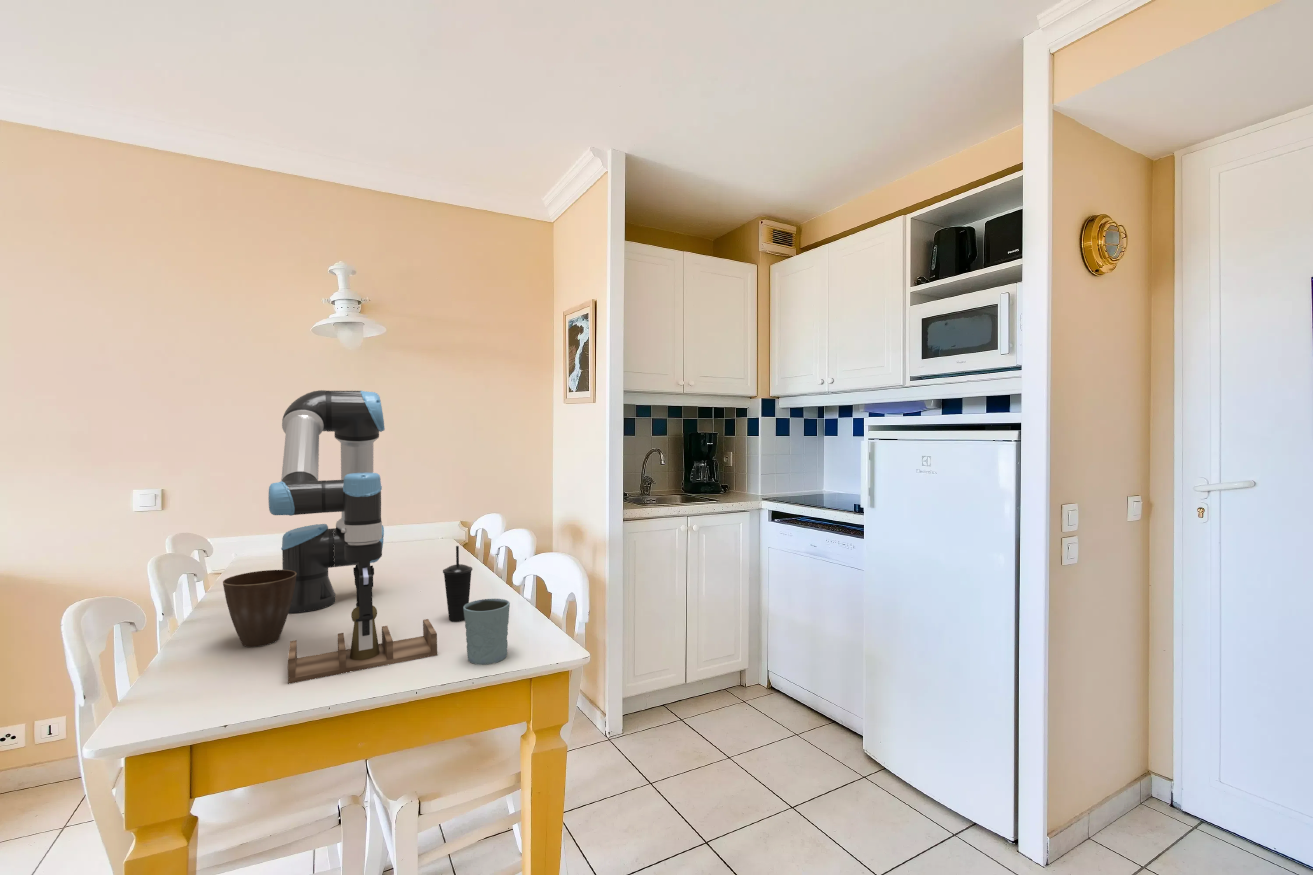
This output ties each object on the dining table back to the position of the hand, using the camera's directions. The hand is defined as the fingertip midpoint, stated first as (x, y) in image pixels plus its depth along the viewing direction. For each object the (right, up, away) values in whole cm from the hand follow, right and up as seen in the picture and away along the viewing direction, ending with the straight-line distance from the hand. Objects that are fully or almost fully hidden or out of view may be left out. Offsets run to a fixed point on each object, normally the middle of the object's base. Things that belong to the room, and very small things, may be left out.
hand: (364, 644), depth 131 cm
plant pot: (-31, -4, +12) cm, 34 cm away
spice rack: (0, -3, 0) cm, 3 cm away
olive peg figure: (0, -2, 0) cm, 2 cm away
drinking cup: (+12, -3, +28) cm, 30 cm away
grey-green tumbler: (+27, -3, +1) cm, 28 cm away
